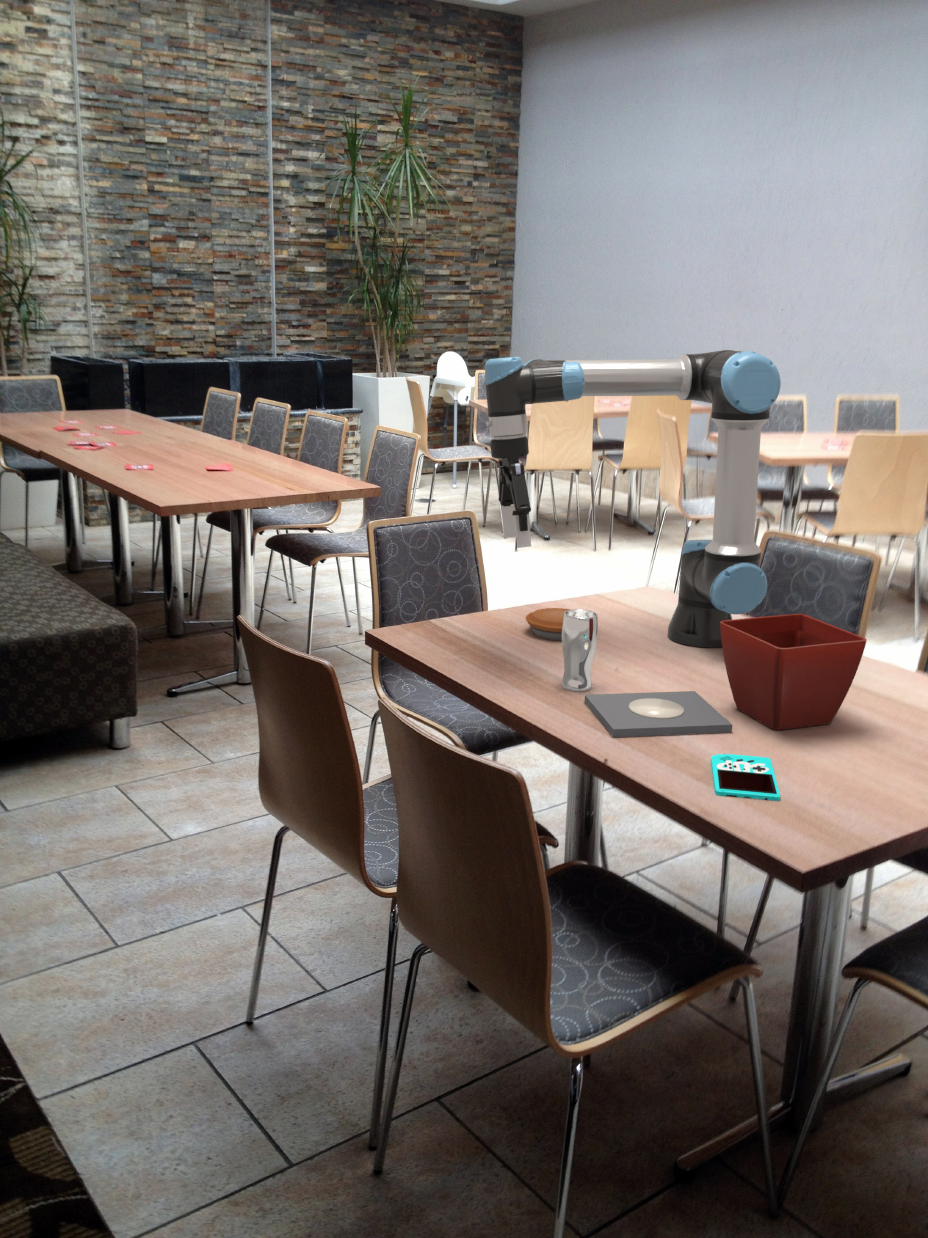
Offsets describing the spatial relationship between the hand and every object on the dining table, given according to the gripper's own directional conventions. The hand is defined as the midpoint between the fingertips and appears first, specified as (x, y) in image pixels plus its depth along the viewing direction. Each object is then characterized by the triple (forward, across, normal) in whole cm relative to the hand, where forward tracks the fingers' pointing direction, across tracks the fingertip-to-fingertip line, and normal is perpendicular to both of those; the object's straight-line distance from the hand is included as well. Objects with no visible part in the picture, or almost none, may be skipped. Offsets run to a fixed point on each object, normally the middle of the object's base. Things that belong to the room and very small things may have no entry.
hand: (517, 541), depth 223 cm
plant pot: (+33, +33, +41) cm, 62 cm away
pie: (+27, -23, +12) cm, 37 cm away
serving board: (+30, +32, +17) cm, 47 cm away
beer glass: (+28, +14, +7) cm, 32 cm away
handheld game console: (+33, +60, +22) cm, 72 cm away
